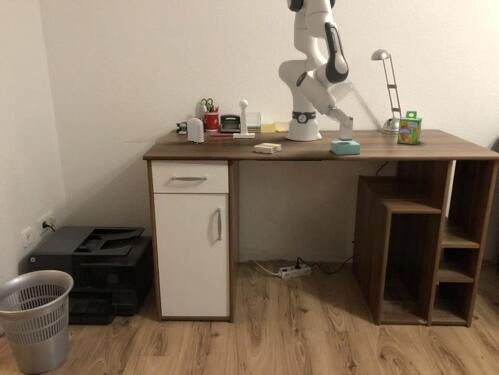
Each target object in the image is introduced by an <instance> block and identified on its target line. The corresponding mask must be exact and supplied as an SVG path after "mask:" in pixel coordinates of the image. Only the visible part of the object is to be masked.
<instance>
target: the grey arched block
mask: <svg viewBox="0 0 499 375" xmlns="http://www.w3.org/2000/svg"><path fill="white" fill-rule="evenodd" d="M186 128H187V141H188V140H190V141H194V142H205V139H204V138H205V137H204V136H205V135H204V122H203V121H202V120H201V119H200V118H197V117H190V118H189V119H187V122H186Z"/></svg>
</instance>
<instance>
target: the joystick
mask: <svg viewBox="0 0 499 375" xmlns="http://www.w3.org/2000/svg"><path fill="white" fill-rule="evenodd" d="M238 105H239V107H240V109H241V110H240V111H241V113H240V117H241V118H240V133H233V139H234V138H254V137H255V138H256V136H255V135H256V133H255V132H253V133H249V132H248V125H247V124H248V120H247V107H248V105H249V104H248V101H247V100H246V99H241V100H239V103H238Z"/></svg>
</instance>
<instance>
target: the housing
mask: <svg viewBox="0 0 499 375" xmlns="http://www.w3.org/2000/svg"><path fill="white" fill-rule="evenodd" d="M347 116H348V115H347ZM348 117H349V119H350V120H349V121H348V123H349V124H350V125H351V128H350V129H347V128H346V127H345V126H344V125H343V124H340V123H339V133H338V134H339V138H338V141H352V140H353V130H354V128H353V127H354V117H352V116H348Z"/></svg>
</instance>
